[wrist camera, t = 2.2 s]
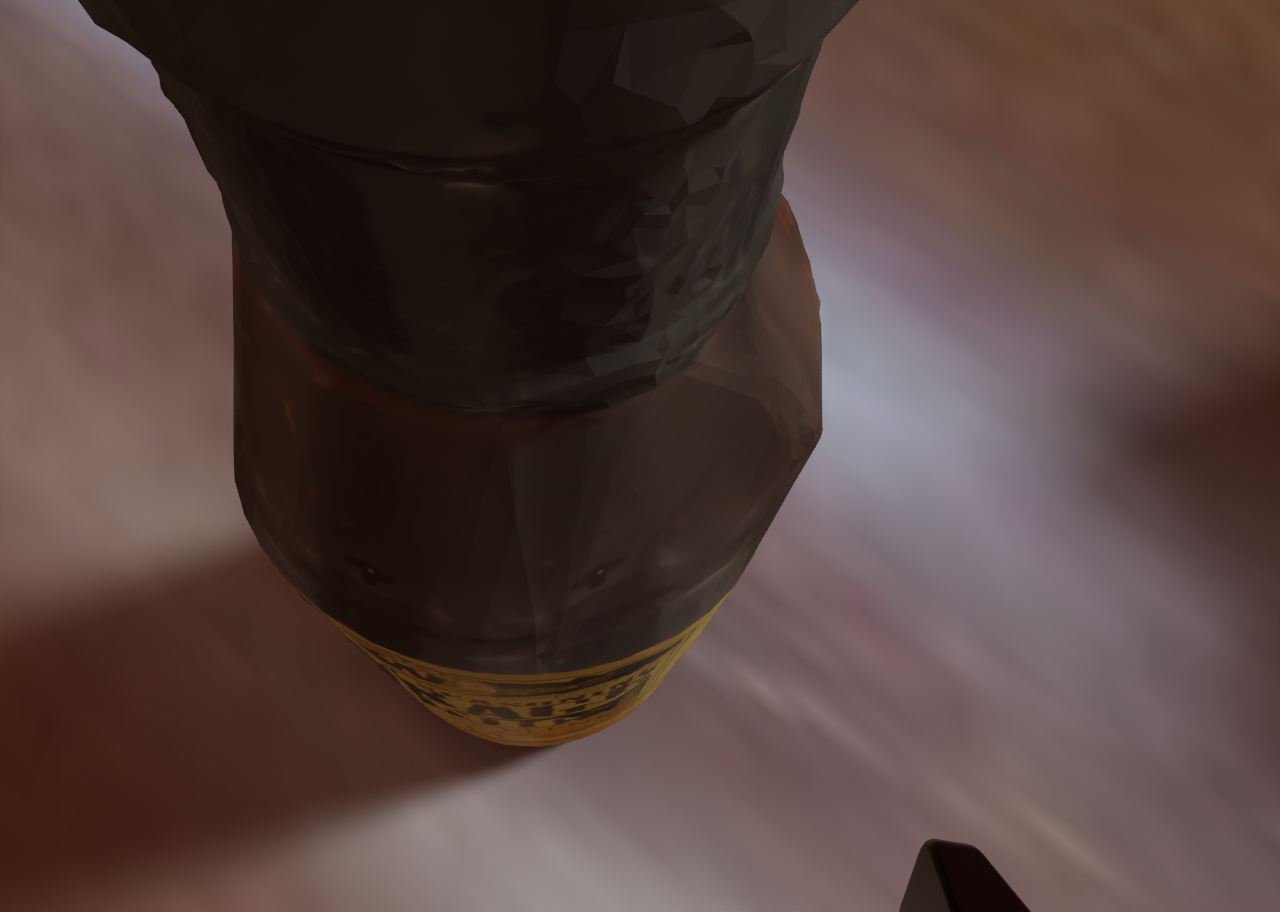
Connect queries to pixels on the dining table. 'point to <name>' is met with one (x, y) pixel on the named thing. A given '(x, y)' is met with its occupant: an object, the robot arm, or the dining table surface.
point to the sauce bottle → (508, 322)
